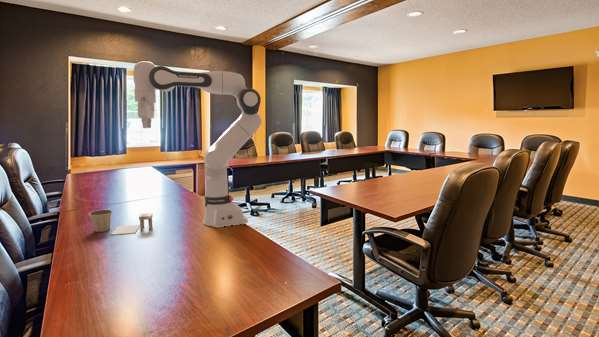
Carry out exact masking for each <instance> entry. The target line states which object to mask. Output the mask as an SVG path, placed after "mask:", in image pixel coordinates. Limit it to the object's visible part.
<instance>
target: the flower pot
mask: <svg viewBox="0 0 599 337" xmlns="http://www.w3.org/2000/svg"><path fill="white" fill-rule="evenodd" d="M112 213H113V210H111V209H99V210H95V211H91V212H89V213H88V215H89V216H90V218H91V221H92V225H93V230H94V232H96V233H99V232H101V233H102V232H107V231H109V230H110V229H111V216H112Z"/></svg>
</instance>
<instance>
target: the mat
mask: <svg viewBox="0 0 599 337" xmlns="http://www.w3.org/2000/svg"><path fill="white" fill-rule="evenodd" d="M139 228H140V224H132V225H131V224H130V225H119V226H117V227H115V229H114V230H113V231H112V233H111V234H110V235H111V236H118V235H132V234H136V233H137V231H138V230H139Z"/></svg>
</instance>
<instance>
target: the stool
mask: <svg viewBox="0 0 599 337" xmlns="http://www.w3.org/2000/svg"><path fill="white" fill-rule="evenodd" d="M138 220H139V225H140V227H139V228H140V232H143V231H144V229H145V220H148V221H147V222H148V231H152V228H153V213H152V212H151V213H150V212H149V213H141V214H140V215H139V217H138Z"/></svg>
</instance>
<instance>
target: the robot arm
mask: <svg viewBox="0 0 599 337" xmlns="http://www.w3.org/2000/svg"><path fill="white" fill-rule="evenodd" d="M133 83H134V90H133V91H134V102H137V116H138V118H139V119H141V124H142V128H143V129H151V128H152V119H154V118H155V104H156V103H157V97H156V90H157V91H162V92H171V91H173V90H174V89H175V88H176V87H188V88H189V87H190V88H196V89H197V88H198V89H200V90H203V91H205V92H206V93H208V94H209V93H210V94H212V95H213V94H214V95H230V96H233V98H234V101H235V104H236V106H237V108H238V109H239V110H240V111H241V114H240V116H239V117H238V118H237V119H236V120H235V121H234V122H233V123H232V124H231V125H229V127H228V128H227V129H226V130H225V131H224V132H223V133H222V135H220V137H219V138H218V139H217V140H216V141H215V142H214V143H213V144H212V145H211V146H209V147H207V148H206V150H205V151H204V155H203V159H204V162H203V163H204V164H203V165H204V187H205V189H204V191H205V192H204V193H205V195H204V202H203V203H204V207H205V208H204V218H203V221H202V224H203V225H205V226H209V227H214V228H217V229H218V228H224V226H226V227H232V226H231V225H233V226H239V225H240V224H241V225H245V224H248V222H249V219H248V217H247V216H246V215H245V214H244V212H243V209H242V207H241V206H239V205H238V204H236V203H234V202H233V200H234V197H233V196H232V195H231V194H229V192H228V190H229V189H228V184H229V183H228V170H227V169H228V167H227V166H228V165H227V164H228V163H229V162H230V161H231V160H232V159H233V157H234V156H235V155H236V154H237V152H238V151H239V150H241V148H242V147H243V146H244V145H245V144H246V143H247V142H248V141H249V140H250V139H251V138H252V137H253V136H254V134H255V133H256V132H257V131H258V130H259V128H260V127H261V125H262V117H261V115H260V114H259V110H260V106H261V101H262V100H261V95H260V93H259V91H257V90H256V89H254V88H251V87H249V88H247V86H246V80H245V78H244V76H243V75H242V74H240V73H238V72H233V71H225V70H223V71H222V70H213V71H212V70H211V71H202V72H190V71H179V70H178V71H177V70H173V69H171V68H168V66H167V67H166V66H162V65H156V64H154V63H153V62H151V61H144V60H143V61H139V62H136V63H135V64H134V67H133ZM241 225H240V226H241Z"/></svg>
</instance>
